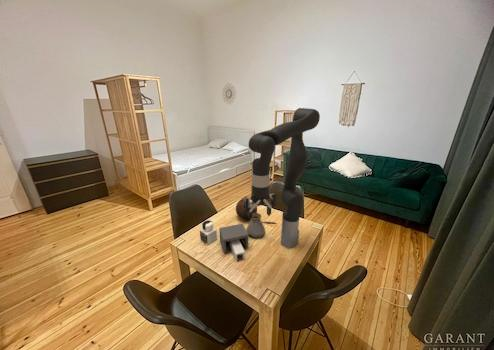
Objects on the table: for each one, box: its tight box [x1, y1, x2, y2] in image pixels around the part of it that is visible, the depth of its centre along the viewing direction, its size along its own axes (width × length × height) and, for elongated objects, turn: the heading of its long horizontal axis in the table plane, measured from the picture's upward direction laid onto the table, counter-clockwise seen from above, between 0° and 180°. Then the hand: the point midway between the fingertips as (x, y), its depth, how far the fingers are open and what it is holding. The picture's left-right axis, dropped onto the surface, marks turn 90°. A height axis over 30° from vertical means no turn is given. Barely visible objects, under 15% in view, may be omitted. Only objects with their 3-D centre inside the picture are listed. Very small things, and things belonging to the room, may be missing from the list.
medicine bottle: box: [199, 219, 218, 245], centre depth 120 cm, size 7×7×12 cm
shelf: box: [218, 223, 249, 255], centre depth 116 cm, size 11×14×10 cm
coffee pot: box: [246, 212, 277, 238], centre depth 121 cm, size 21×12×15 cm, turn 44°
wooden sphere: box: [235, 197, 258, 221], centre depth 141 cm, size 15×15×15 cm
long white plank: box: [227, 239, 246, 262], centre depth 112 cm, size 16×5×5 cm, turn 19°
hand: (259, 216), depth 91 cm, fingers open, 8 cm apart
